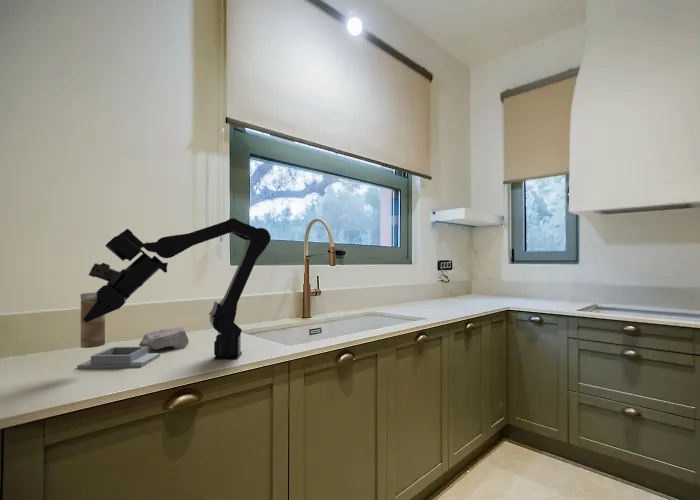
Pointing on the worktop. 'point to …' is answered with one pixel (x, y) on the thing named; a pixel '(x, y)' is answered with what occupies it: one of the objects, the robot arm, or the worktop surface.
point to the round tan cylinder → (91, 323)
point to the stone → (165, 339)
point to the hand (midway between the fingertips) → (86, 319)
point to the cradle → (120, 358)
